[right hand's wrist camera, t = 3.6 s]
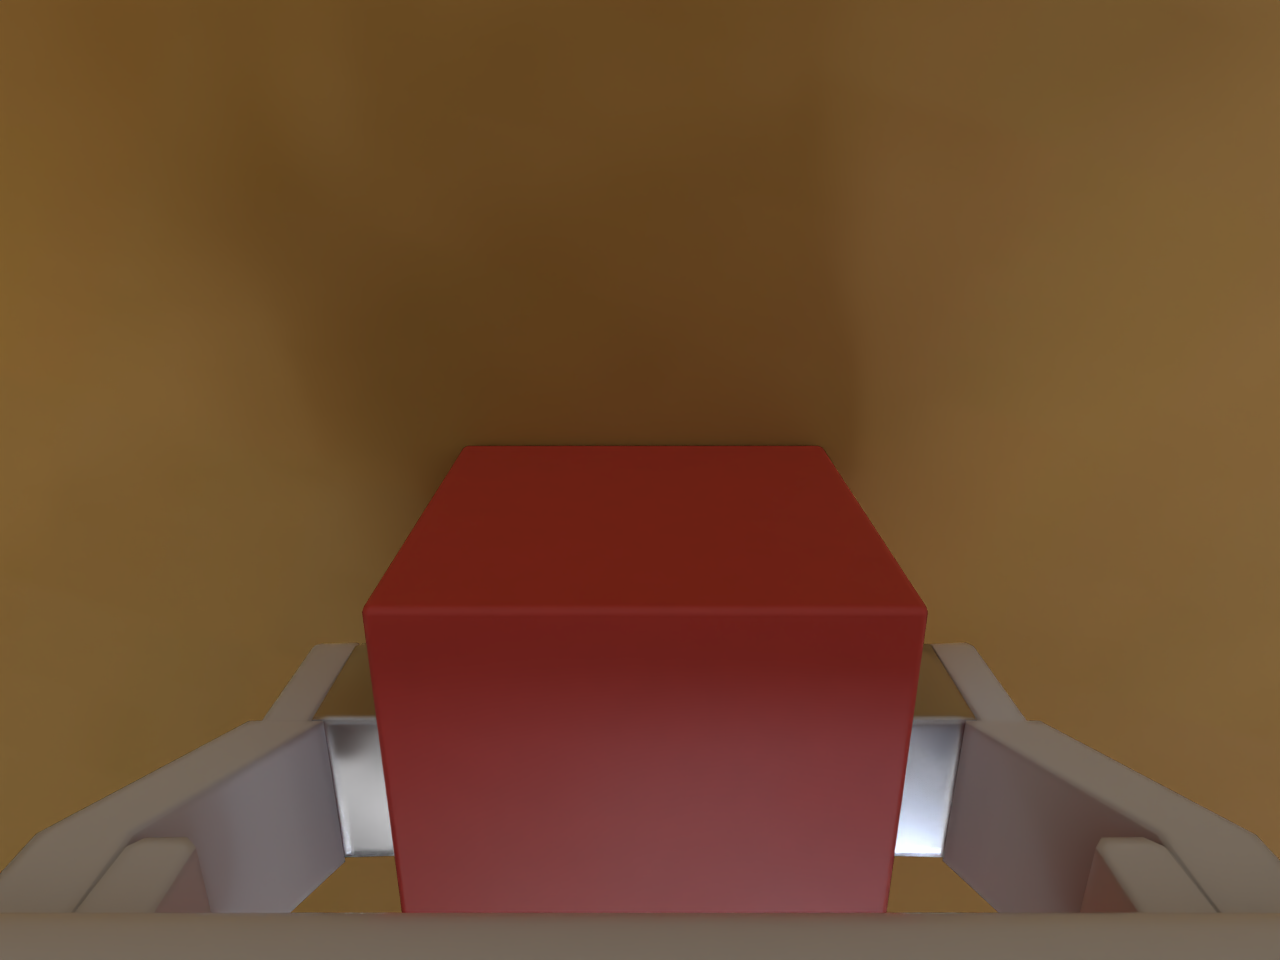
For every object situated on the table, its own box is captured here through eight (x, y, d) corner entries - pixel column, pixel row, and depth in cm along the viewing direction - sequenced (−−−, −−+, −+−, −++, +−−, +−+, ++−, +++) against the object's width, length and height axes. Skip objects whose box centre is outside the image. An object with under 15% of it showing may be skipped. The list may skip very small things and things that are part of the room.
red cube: (822, 444, 11) (931, 608, 7) (798, 749, 13) (873, 1027, 9) (462, 444, 11) (357, 608, 7) (486, 750, 13) (414, 1027, 9)
